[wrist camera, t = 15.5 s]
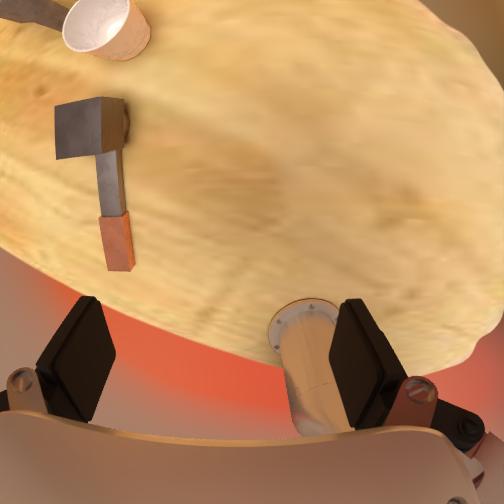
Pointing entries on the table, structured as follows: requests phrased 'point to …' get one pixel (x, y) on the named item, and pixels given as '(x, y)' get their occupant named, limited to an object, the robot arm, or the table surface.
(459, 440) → the robot arm
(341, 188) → the table surface
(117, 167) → the ratchet
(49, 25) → the hip flask
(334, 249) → the table surface
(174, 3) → the table surface
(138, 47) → the peach tapered cup
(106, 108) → the two-tone cube
